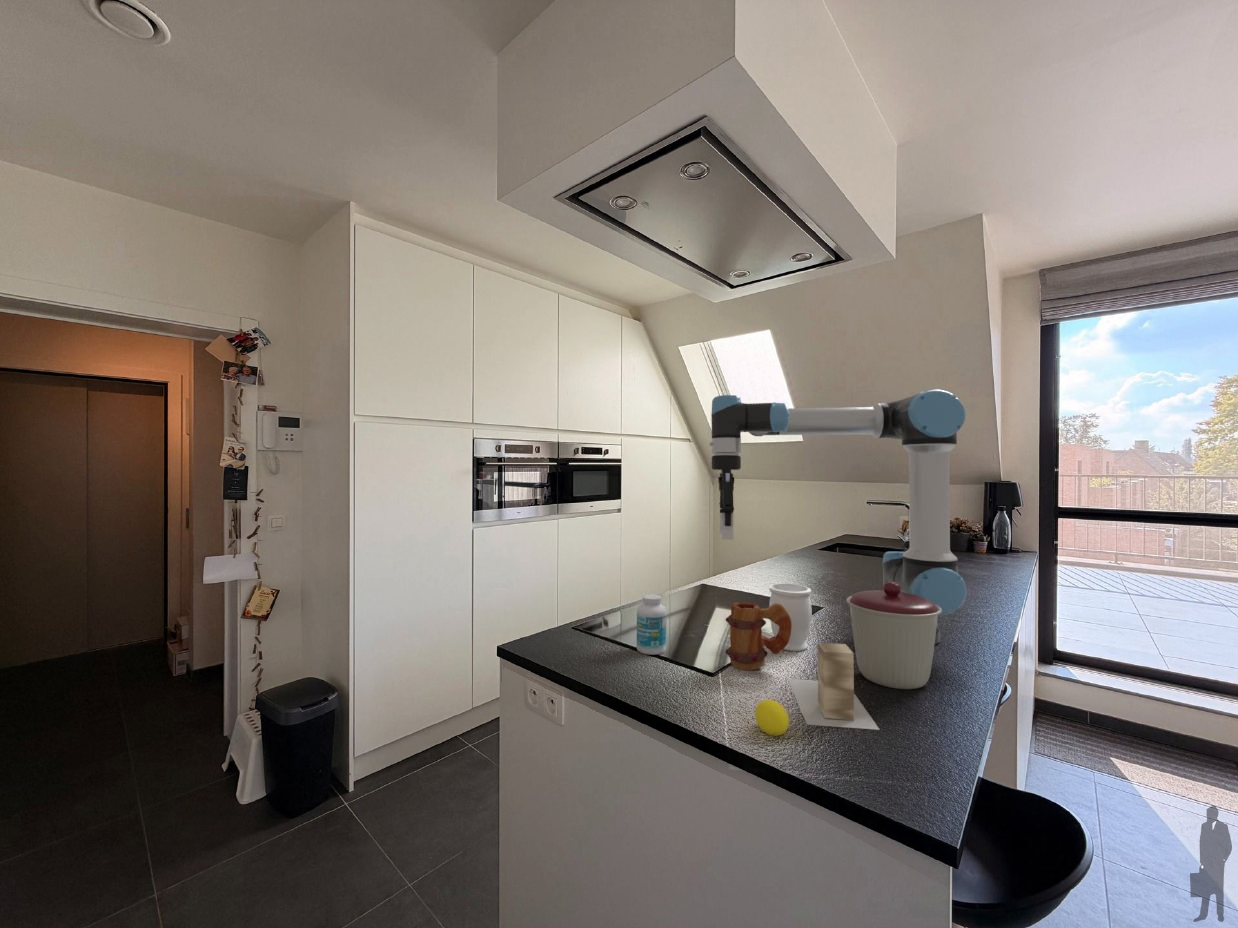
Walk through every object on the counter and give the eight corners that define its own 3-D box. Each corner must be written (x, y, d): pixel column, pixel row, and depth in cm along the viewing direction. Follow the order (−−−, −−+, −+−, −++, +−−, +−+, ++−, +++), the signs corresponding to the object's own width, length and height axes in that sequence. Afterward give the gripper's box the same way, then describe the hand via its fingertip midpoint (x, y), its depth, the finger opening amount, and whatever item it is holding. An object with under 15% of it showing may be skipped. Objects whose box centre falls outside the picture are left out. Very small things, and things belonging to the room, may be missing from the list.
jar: (818, 653, 127) (817, 592, 127) (775, 653, 127) (775, 592, 127) (803, 639, 137) (803, 583, 137) (764, 639, 137) (764, 582, 138)
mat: (846, 684, 108) (846, 682, 108) (879, 731, 88) (879, 729, 88) (787, 680, 110) (787, 678, 110) (807, 726, 90) (807, 724, 90)
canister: (931, 707, 98) (930, 596, 98) (834, 680, 110) (833, 582, 110) (950, 679, 111) (949, 581, 111) (862, 658, 123) (861, 570, 124)
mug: (722, 670, 115) (722, 603, 116) (727, 658, 123) (727, 595, 123) (791, 680, 110) (791, 609, 111) (792, 666, 118) (792, 601, 118)
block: (845, 708, 96) (845, 644, 96) (853, 720, 91) (853, 653, 92) (818, 706, 97) (817, 642, 97) (824, 718, 92) (824, 651, 92)
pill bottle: (632, 653, 126) (632, 598, 127) (642, 644, 133) (642, 591, 133) (661, 657, 124) (661, 601, 124) (670, 647, 130) (670, 594, 131)
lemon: (796, 741, 86) (799, 711, 86) (769, 747, 84) (772, 716, 84) (770, 717, 93) (772, 689, 92) (745, 722, 91) (747, 693, 90)
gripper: (710, 456, 148) (710, 530, 147) (712, 453, 123) (713, 541, 123) (737, 456, 147) (737, 530, 146) (744, 453, 122) (745, 542, 122)
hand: (726, 535), depth 135 cm, fingers open, 13 cm apart
